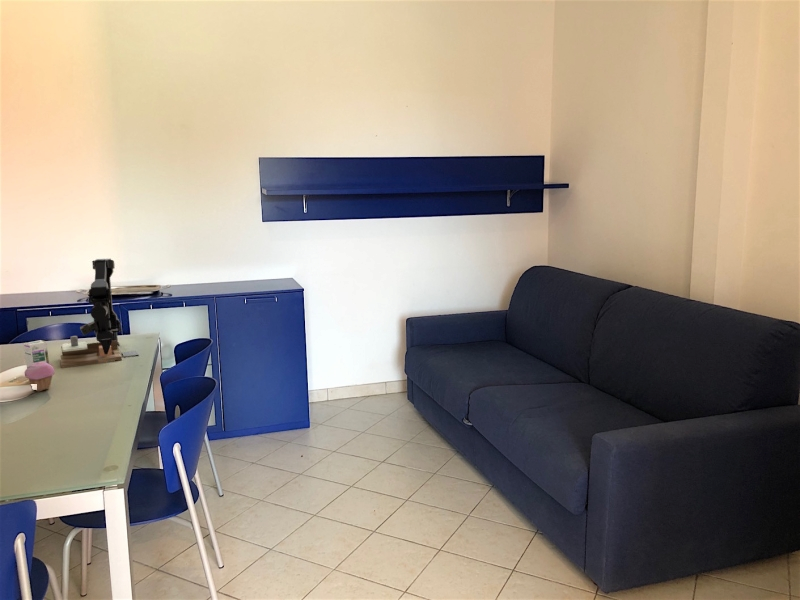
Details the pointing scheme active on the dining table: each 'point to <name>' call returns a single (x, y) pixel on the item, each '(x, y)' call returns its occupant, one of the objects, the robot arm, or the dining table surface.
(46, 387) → the cupcake
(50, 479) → the dining table surface
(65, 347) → the sliding cover
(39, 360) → the syrup box
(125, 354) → the grey pad
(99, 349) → the terracotta block
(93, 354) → the walnut board
